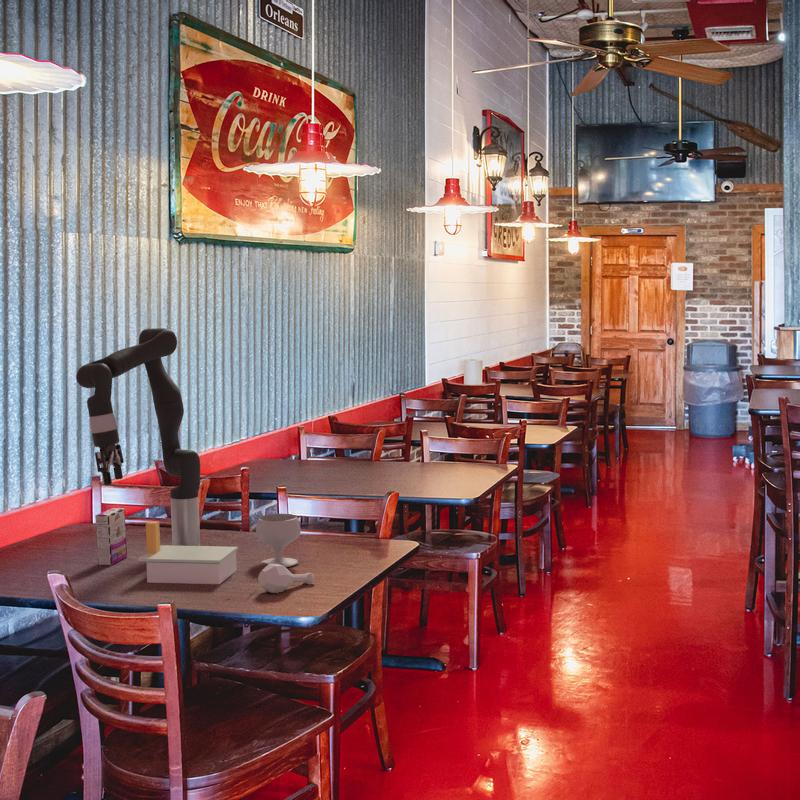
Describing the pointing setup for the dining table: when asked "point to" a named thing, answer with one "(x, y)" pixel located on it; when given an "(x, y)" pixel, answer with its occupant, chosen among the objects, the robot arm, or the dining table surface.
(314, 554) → the dining table surface
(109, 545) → the candy bar box
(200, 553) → the lid
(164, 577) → the tub
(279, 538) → the chalice
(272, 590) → the chicken leg
